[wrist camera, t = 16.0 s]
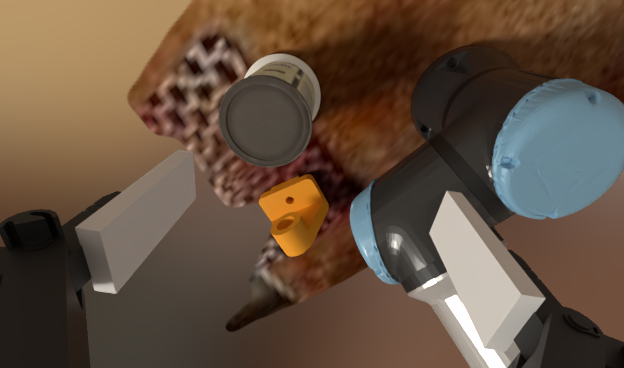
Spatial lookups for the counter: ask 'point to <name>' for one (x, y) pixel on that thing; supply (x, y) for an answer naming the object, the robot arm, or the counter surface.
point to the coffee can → (269, 115)
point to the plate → (297, 62)
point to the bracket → (295, 213)
